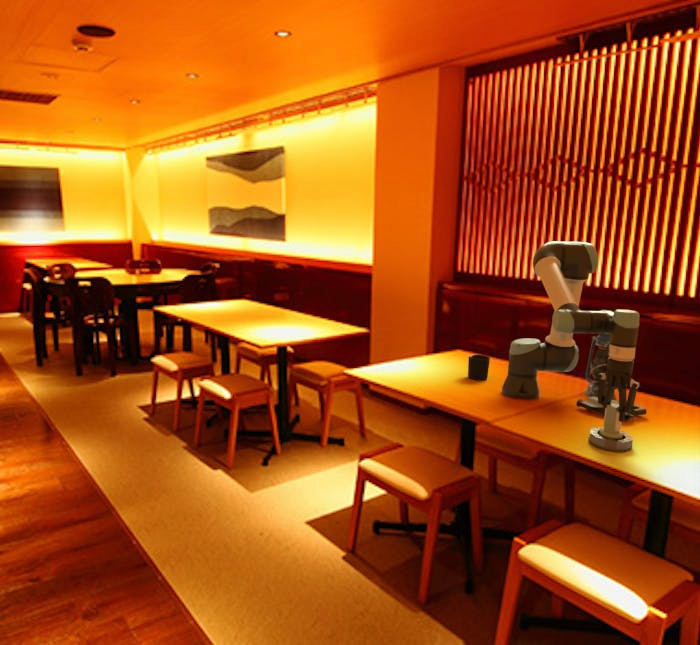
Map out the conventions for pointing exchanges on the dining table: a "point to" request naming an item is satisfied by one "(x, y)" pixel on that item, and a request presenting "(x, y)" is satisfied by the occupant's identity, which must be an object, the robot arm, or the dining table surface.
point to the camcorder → (596, 407)
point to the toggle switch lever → (611, 423)
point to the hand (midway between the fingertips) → (611, 428)
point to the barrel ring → (610, 442)
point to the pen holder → (478, 367)
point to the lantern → (598, 364)
